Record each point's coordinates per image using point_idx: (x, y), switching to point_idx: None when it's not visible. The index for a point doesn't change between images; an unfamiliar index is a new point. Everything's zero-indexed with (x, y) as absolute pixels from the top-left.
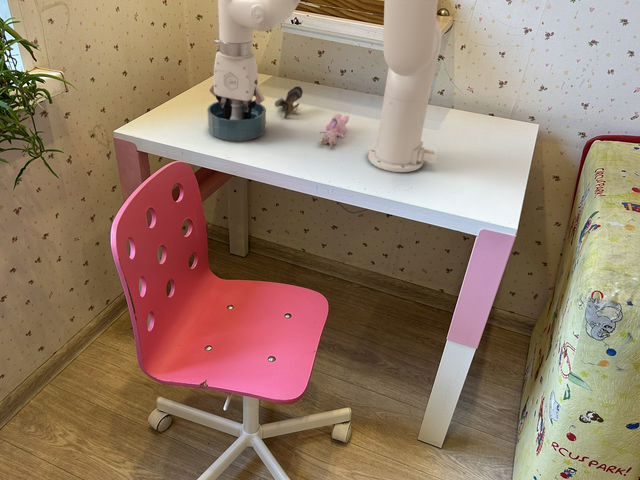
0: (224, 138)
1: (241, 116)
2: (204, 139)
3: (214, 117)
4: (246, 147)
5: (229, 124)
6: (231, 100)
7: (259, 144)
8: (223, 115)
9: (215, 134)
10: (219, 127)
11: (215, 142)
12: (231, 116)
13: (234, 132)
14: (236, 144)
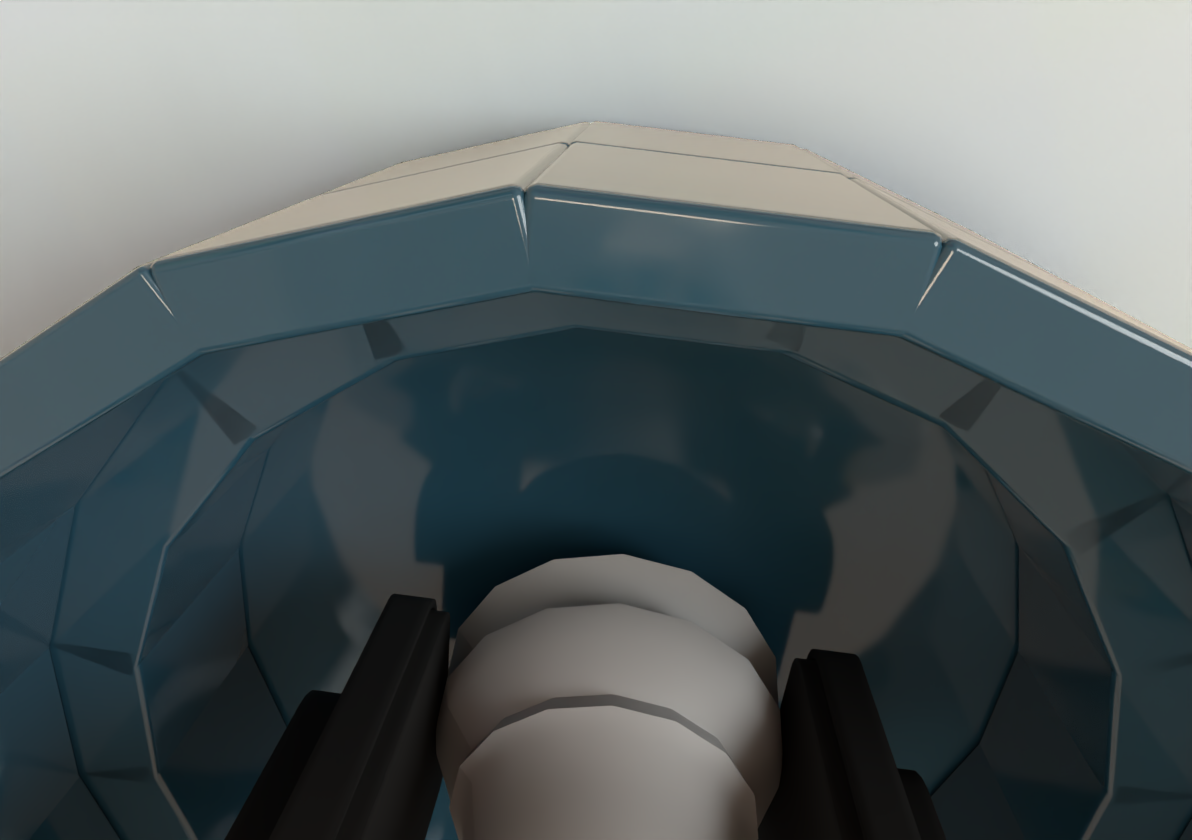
0: (674, 133)
1: (470, 827)
2: (1133, 75)
3: (1171, 345)
4: (153, 24)
5: (469, 176)
6: None
7: (30, 254)
8: (922, 819)
9: (922, 207)
10: (842, 175)
11: (849, 13)
12: (701, 787)
13: (392, 175)
14: (397, 90)
